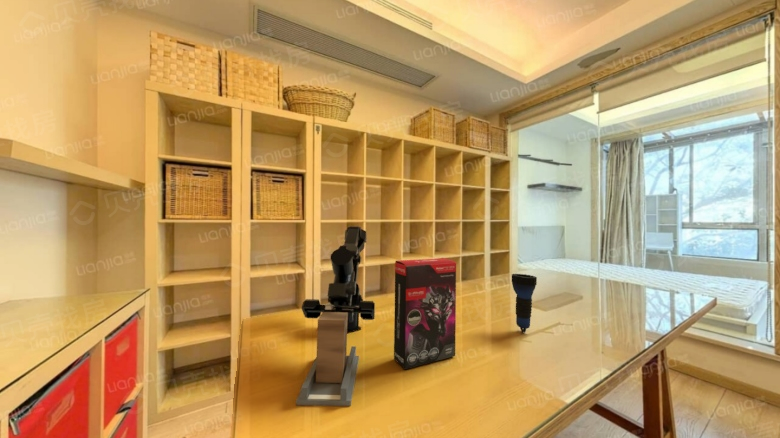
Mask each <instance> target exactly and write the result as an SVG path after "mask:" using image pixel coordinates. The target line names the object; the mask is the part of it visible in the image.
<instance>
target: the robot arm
mask: <svg viewBox="0 0 780 438" xmlns="http://www.w3.org/2000/svg"><path fill="white" fill-rule="evenodd" d="M367 236H368V234H367V231H366V230H365V229H363V228H362V227H361V226H355V225H353V226H352V225H349V226H347V228H346V229H345V231H344V243H343V245H339V247H338V248H337V249H335V250H334V251H332V253H331V254H330V261H331V266H332V272H333V275H334V277H333V282H331V283H330V282H329V283H328V290H327V297H328V298H327V302H328V303H325V304H321V302H320V299H317V298H316V299H314V298H313V299H312V298H306V299H305V300H304V301H303V302H302V304H301V311H302V313H303V315H304V316H303V317H304V318H306V319H319V317H320V316H321V314H322V313H323V312H346V313H348V321H347V334H348V333H353V332H356V331H359V330H362V327H361V326H359V325H360V324H359V322H360V318H361V319H362V320H363V321H364V320H367V321H368V320H369V321H372V320H375V313H376V308H375V307H376V305H375V304H376V303H375V302H374V300H364V299H363V297H362V294H361V291H360V289H361V288H360V287H359V284H358V276H359V275H358V273H359V266H360V265H361V262H362V259H363V258H362V256H361V254H360V253H362V251H363V250H364V249H365V245H366V243H367V240H368V237H367Z"/></svg>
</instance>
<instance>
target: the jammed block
mask: <svg viewBox="0 0 780 438" xmlns="http://www.w3.org/2000/svg"><path fill="white" fill-rule="evenodd" d="M347 321H348V313H346V312H321V315H320V316H319V317H318V318H317V330H316V331H317V332H316V337H317V338H316V357H315V359H316V382H318V383H342V382H343V378H344V374H345V370H346V356H347V348H348V347H347V345H348V333H347Z"/></svg>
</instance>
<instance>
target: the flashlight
mask: <svg viewBox="0 0 780 438" xmlns="http://www.w3.org/2000/svg"><path fill="white" fill-rule="evenodd" d="M537 279H538V278H537V276H536V275H535V276H534V275H531V274H527V273H524V274H523V273H512V274H511V285H512V288H513V291H514V293H515V294H516V297H515V316H516V318H515V321H516V322H515V323H516V325H517V326H516V327H519V328H520V331H521V333H523V332H524V333H526V331H527V329H529V328H530V327H531V317H532V311H533V310H532V309H533V306H532V305H533V294H534V291H535V289H536V286H537V284H538V282H537ZM524 333H523V334H524Z"/></svg>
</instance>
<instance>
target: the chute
mask: <svg viewBox="0 0 780 438" xmlns="http://www.w3.org/2000/svg"><path fill="white" fill-rule="evenodd" d="M356 351H357V346H356V345H355V346H354V345H353V346H351V347H350V352H349V355H346V370H345V374H344V378H343V382H342V383H318V382H316V358H315V359H314V361H313V363H312V365H311V367H310V369H309V371H308V373H307V375H306V377H305V379H304V381H303V383H302V385H301V387H300V391H299V393H298V396H297V398H296V399H295V405H296V406H321V407H322V406H323V407H324V406H325V407H326V406H330V407H331V406H332V407H351V405H352V399H353V394H354V388H355V383H356V377H357V372H358V366H359V360H360V355H356V353H357V352H356Z"/></svg>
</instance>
